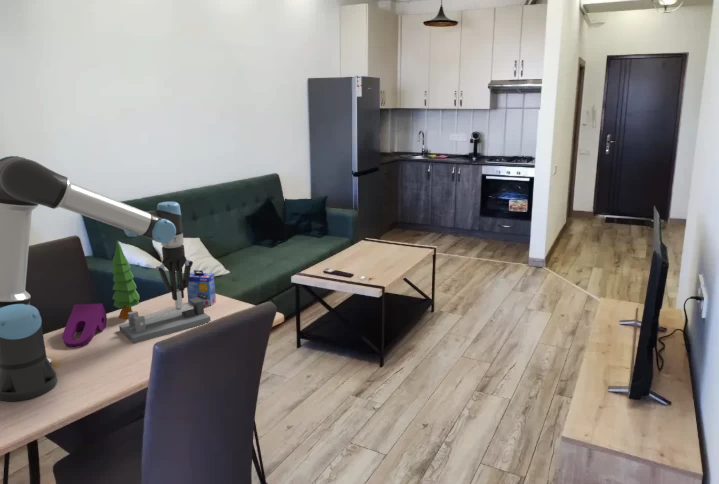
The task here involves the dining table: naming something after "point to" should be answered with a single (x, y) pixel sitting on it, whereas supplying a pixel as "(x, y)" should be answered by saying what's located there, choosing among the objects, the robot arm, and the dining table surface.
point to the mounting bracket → (84, 324)
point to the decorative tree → (123, 284)
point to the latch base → (164, 323)
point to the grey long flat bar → (165, 312)
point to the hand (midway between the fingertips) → (179, 307)
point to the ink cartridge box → (201, 287)
